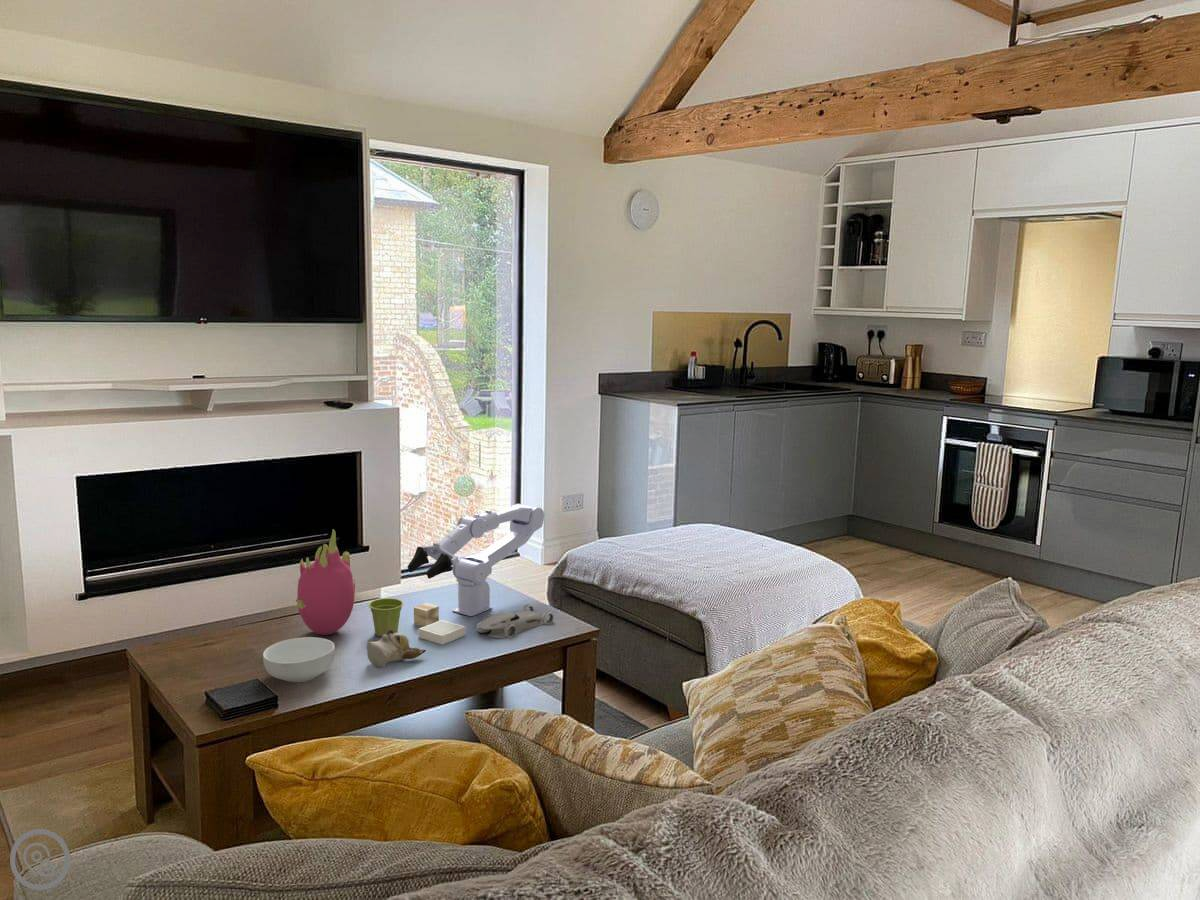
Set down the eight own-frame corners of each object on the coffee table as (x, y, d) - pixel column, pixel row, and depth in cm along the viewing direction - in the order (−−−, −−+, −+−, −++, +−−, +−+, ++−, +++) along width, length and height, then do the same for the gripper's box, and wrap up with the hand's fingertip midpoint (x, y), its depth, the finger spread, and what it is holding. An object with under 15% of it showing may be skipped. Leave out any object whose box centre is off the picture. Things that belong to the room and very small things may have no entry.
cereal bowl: (297, 658, 232) (296, 632, 231) (349, 669, 226) (348, 642, 225) (248, 683, 217) (247, 655, 216) (303, 695, 210) (302, 666, 209)
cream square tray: (441, 628, 256) (441, 619, 255) (465, 635, 251) (465, 626, 250) (418, 637, 248) (418, 628, 248) (442, 644, 243) (442, 635, 243)
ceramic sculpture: (355, 630, 228) (403, 619, 240) (354, 663, 229) (402, 650, 241) (381, 641, 221) (428, 629, 233) (380, 675, 222) (427, 661, 234)
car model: (556, 622, 263) (557, 606, 262) (492, 643, 246) (492, 626, 245) (531, 613, 271) (531, 597, 270) (467, 633, 253) (467, 616, 252)
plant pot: (408, 628, 255) (407, 598, 254) (397, 640, 246) (397, 609, 245) (376, 626, 256) (375, 597, 255) (364, 638, 247) (363, 608, 246)
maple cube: (426, 619, 263) (426, 602, 262) (438, 622, 260) (438, 606, 260) (414, 623, 259) (413, 607, 258) (426, 627, 256) (426, 610, 256)
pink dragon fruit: (341, 619, 261) (338, 519, 256) (368, 631, 252) (366, 527, 248) (285, 635, 248) (281, 530, 243) (311, 648, 239) (308, 539, 234)
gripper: (429, 528, 263) (396, 555, 254) (465, 539, 255) (432, 567, 246) (436, 547, 267) (403, 574, 258) (471, 558, 259) (439, 587, 250)
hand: (418, 572), depth 252 cm, fingers open, 7 cm apart
